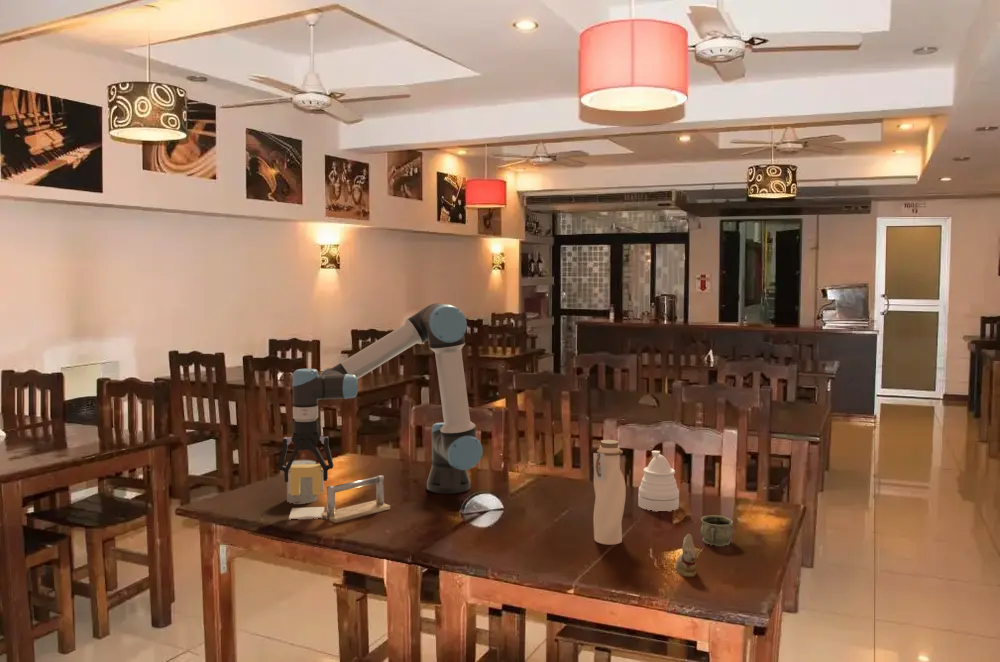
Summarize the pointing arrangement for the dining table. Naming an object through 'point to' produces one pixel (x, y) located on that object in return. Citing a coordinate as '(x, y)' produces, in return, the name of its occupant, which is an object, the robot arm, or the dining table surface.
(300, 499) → the grey speckled cylinder
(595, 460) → the water bottle
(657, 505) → the honey pot
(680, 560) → the chocolate bunny
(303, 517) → the coaster
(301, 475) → the c link
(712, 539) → the vessel
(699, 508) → the dining table surface
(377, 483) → the rail stand
